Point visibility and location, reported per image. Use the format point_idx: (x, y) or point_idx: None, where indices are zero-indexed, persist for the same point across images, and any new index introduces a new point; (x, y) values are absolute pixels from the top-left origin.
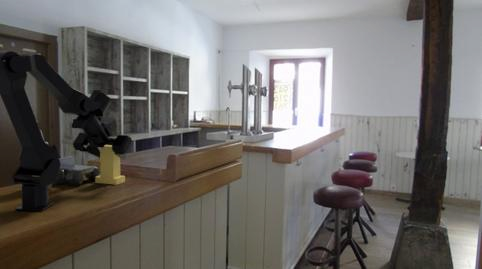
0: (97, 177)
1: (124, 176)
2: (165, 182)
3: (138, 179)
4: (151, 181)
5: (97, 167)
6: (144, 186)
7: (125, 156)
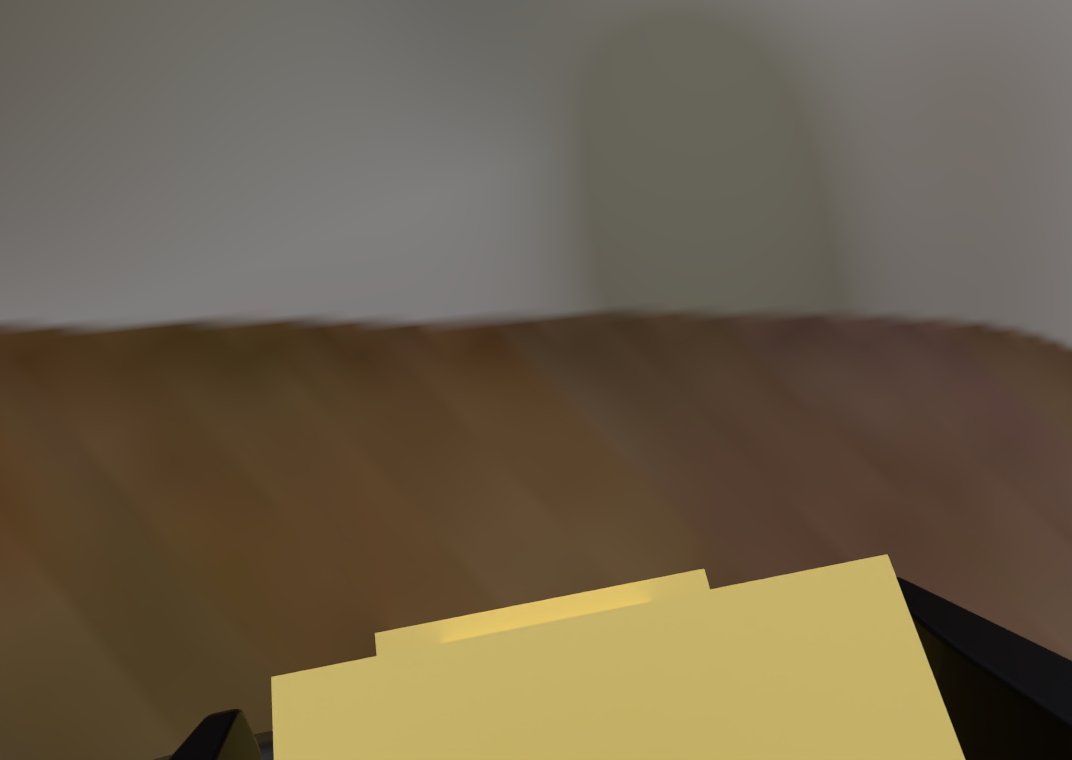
0: None
1: (706, 582)
2: (1047, 357)
3: (715, 396)
4: (903, 397)
5: (268, 754)
6: (1065, 647)
7: (956, 623)
